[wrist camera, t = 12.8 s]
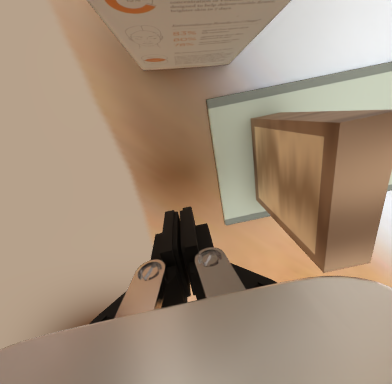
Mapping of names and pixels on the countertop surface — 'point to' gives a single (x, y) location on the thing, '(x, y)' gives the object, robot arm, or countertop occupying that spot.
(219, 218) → the countertop surface
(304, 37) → the countertop surface
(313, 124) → the slab
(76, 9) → the countertop surface
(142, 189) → the countertop surface
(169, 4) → the small box
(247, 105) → the mat
